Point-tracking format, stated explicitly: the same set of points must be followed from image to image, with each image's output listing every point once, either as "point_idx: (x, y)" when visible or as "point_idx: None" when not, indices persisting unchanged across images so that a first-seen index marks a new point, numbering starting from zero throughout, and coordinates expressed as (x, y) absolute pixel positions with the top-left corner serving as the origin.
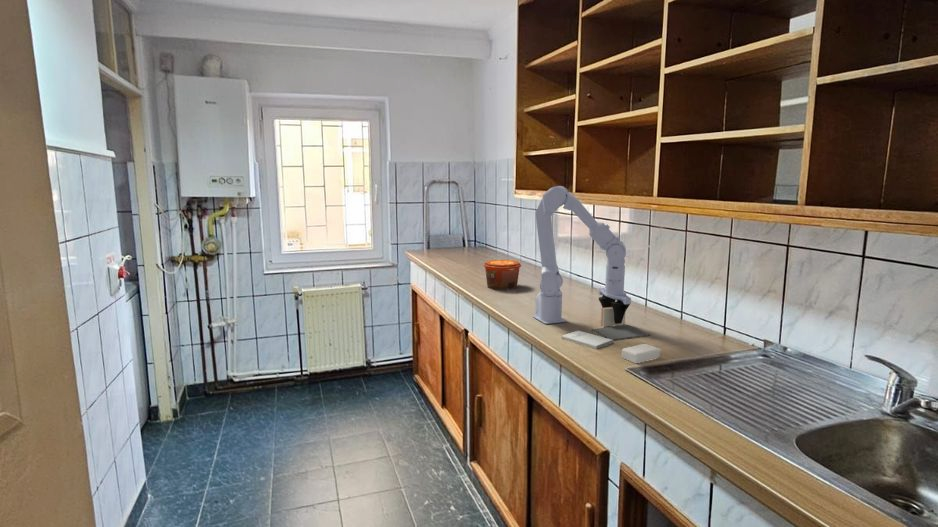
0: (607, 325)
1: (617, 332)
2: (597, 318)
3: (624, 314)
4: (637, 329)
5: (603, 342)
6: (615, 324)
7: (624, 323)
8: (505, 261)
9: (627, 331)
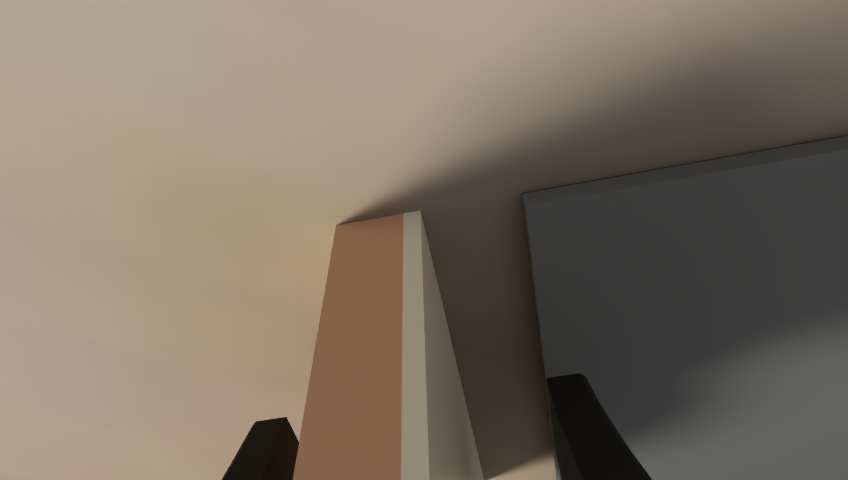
0: (477, 460)
1: (801, 452)
2: (50, 436)
3: (429, 372)
4: (844, 165)
5: None
6: (454, 370)
7: (421, 230)
8: None
9: (840, 344)
